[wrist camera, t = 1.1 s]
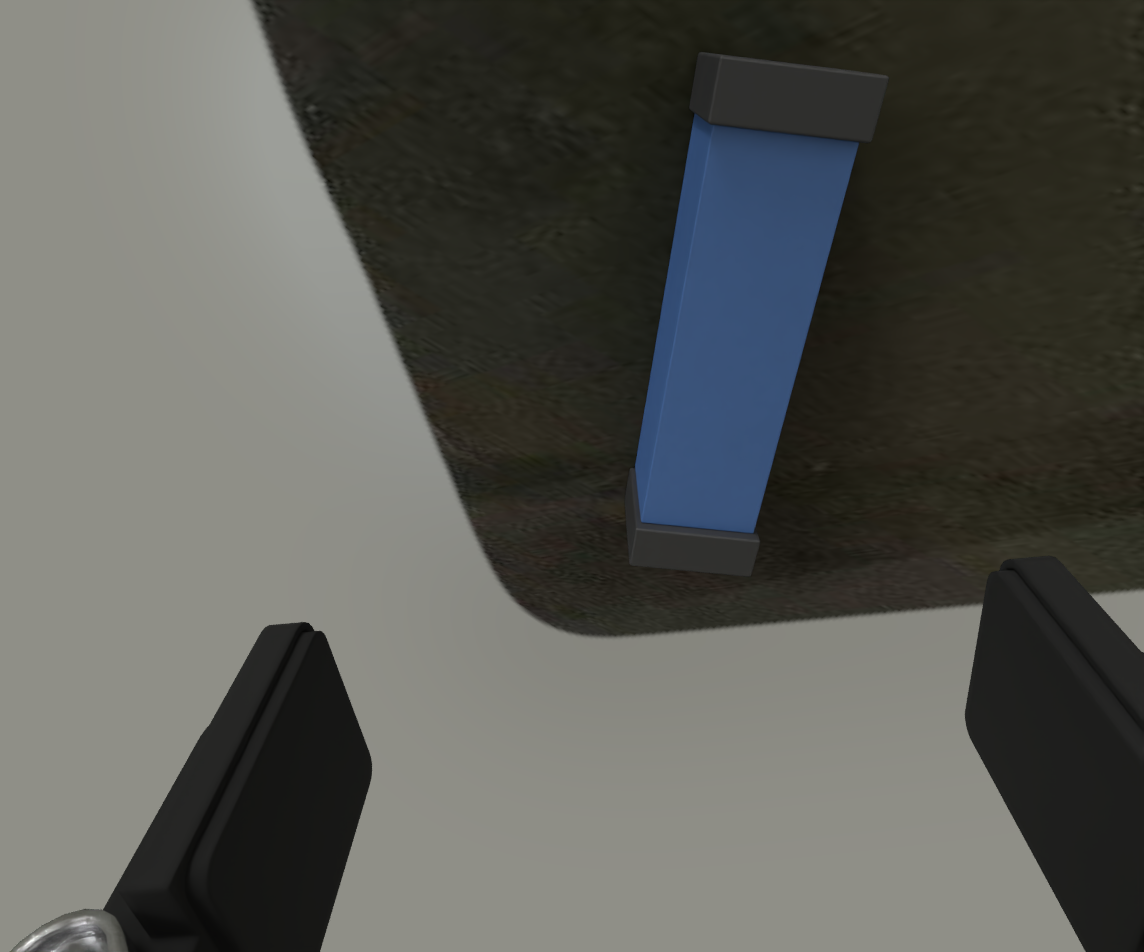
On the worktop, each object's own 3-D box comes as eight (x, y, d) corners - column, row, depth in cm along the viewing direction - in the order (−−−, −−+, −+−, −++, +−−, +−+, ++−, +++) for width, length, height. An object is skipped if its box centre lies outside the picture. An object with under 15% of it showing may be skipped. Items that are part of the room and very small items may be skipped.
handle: (697, 51, 23) (719, 54, 19) (841, 69, 23) (891, 76, 19) (624, 500, 31) (629, 566, 27) (731, 511, 31) (751, 578, 27)
